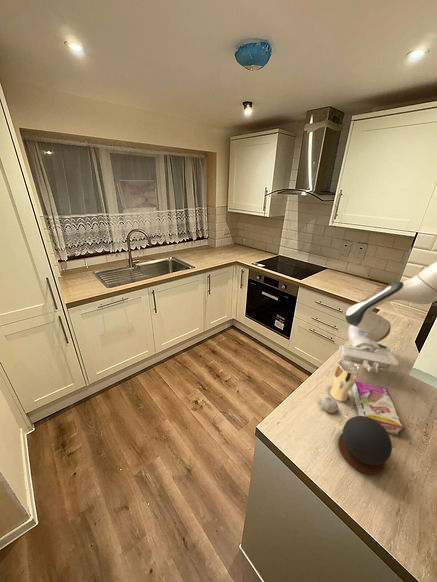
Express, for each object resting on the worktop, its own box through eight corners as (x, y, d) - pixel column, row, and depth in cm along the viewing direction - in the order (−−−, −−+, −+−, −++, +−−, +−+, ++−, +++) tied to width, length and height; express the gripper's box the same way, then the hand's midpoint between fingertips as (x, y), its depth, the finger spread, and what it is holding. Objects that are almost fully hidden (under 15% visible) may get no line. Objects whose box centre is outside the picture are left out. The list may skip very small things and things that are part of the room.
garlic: (316, 408, 84) (319, 398, 82) (321, 399, 88) (324, 389, 86) (333, 419, 81) (337, 408, 78) (338, 408, 84) (342, 398, 82)
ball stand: (375, 441, 74) (389, 413, 68) (388, 483, 64) (406, 454, 58) (334, 429, 77) (345, 402, 72) (340, 468, 67) (353, 439, 61)
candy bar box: (387, 387, 88) (404, 427, 73) (382, 396, 90) (398, 437, 76) (354, 379, 90) (364, 416, 76) (350, 388, 93) (360, 426, 78)
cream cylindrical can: (324, 394, 90) (334, 364, 83) (333, 385, 94) (343, 356, 87) (343, 407, 85) (354, 376, 78) (351, 397, 89) (363, 367, 83)
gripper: (339, 338, 102) (345, 358, 90) (393, 348, 97) (407, 371, 85) (336, 349, 105) (341, 371, 93) (388, 360, 99) (400, 384, 87)
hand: (373, 371), depth 89 cm, fingers closed
